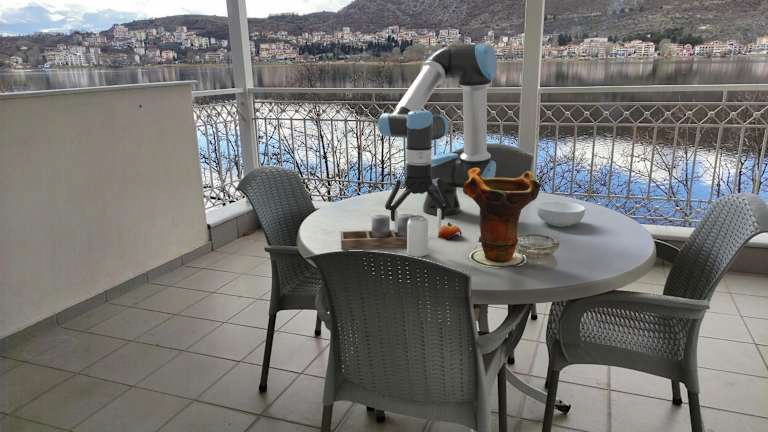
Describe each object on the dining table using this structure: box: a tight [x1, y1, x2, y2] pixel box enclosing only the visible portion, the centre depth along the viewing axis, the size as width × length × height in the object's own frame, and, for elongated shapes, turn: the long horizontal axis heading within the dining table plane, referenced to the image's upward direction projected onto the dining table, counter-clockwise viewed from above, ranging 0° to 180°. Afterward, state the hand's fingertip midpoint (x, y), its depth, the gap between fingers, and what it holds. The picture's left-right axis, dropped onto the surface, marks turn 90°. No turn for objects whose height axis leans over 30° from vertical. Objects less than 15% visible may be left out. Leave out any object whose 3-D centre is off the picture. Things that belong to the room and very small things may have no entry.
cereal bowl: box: [536, 200, 586, 228], centre depth 197 cm, size 17×17×7 cm
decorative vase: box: [462, 168, 542, 269], centre depth 160 cm, size 21×23×28 cm
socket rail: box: [340, 213, 414, 250], centre depth 176 cm, size 27×9×9 cm, turn 96°
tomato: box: [437, 221, 463, 241], centre depth 183 cm, size 8×7×7 cm
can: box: [406, 214, 429, 258], centre depth 166 cm, size 6×6×12 cm
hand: (417, 230), depth 165 cm, fingers open, 13 cm apart
